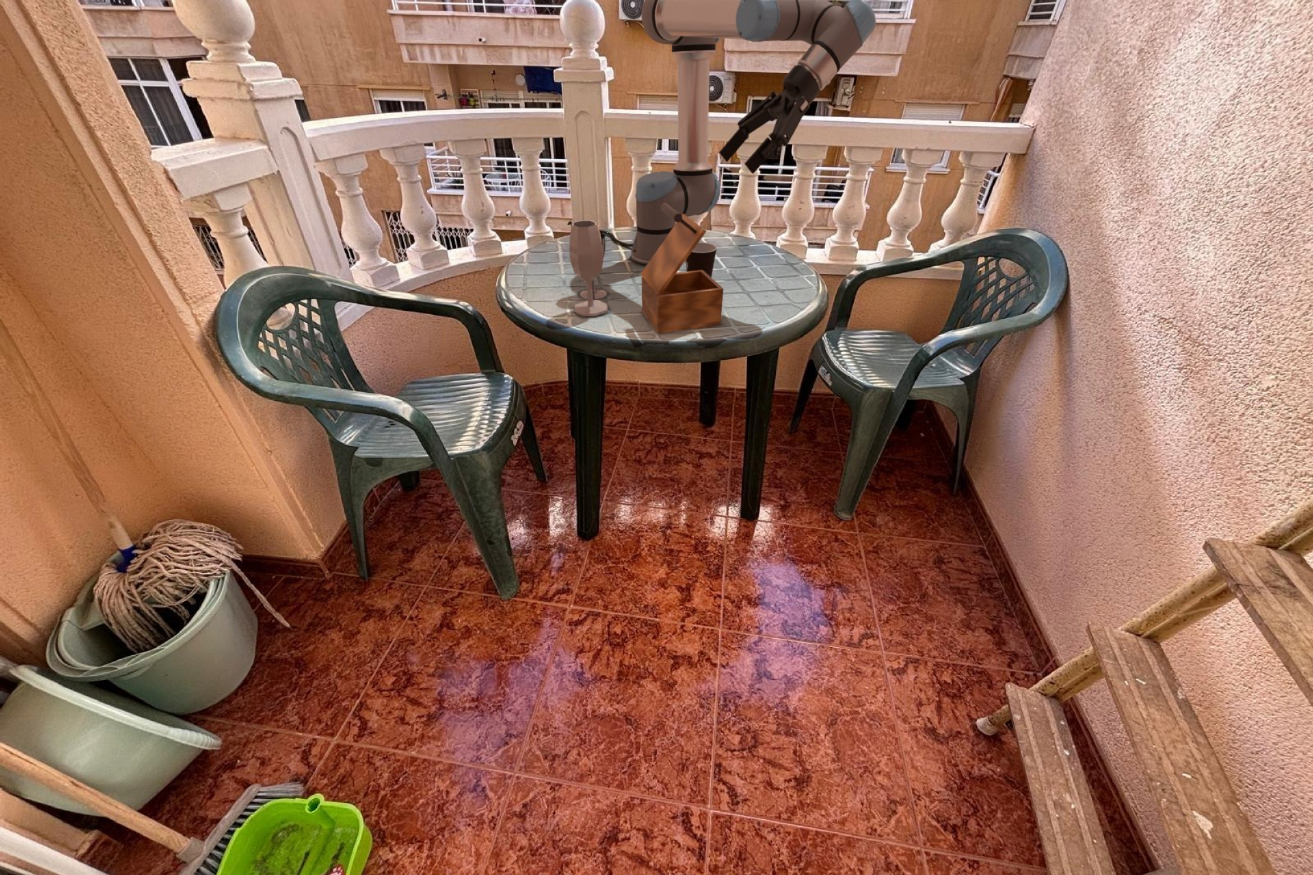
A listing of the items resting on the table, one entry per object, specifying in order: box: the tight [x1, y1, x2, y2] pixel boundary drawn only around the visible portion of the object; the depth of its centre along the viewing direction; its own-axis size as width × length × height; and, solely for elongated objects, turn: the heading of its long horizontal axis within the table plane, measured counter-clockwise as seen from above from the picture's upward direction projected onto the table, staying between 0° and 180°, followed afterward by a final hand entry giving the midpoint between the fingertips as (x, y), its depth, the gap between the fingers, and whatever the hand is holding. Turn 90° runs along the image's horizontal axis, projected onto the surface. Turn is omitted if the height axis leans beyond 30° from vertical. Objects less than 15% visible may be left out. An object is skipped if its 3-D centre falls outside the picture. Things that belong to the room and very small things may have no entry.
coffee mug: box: [685, 241, 718, 278], centre depth 146 cm, size 12×9×10 cm
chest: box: [641, 270, 724, 335], centre depth 127 cm, size 16×13×9 cm
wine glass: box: [579, 233, 608, 300], centre depth 137 cm, size 8×8×15 cm
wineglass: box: [568, 219, 609, 317], centre depth 127 cm, size 9×9×21 cm
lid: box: [640, 203, 707, 296], centre depth 118 cm, size 17×13×7 cm
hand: (735, 163), depth 116 cm, fingers open, 13 cm apart
